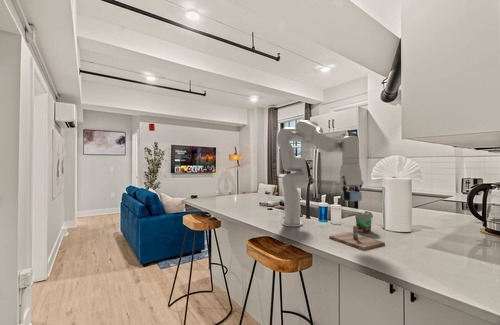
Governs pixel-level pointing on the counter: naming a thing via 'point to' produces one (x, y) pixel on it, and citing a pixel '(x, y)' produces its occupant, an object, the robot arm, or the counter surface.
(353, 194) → the collar
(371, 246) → the shaft stand
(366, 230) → the food container
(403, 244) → the counter surface
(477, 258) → the counter surface
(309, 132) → the robot arm
